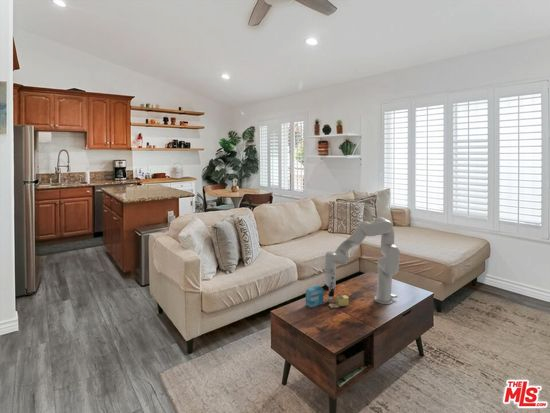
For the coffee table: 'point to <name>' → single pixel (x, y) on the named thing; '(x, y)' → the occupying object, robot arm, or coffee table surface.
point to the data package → (314, 296)
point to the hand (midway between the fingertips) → (328, 293)
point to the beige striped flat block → (333, 305)
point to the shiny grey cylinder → (329, 299)
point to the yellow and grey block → (342, 300)
